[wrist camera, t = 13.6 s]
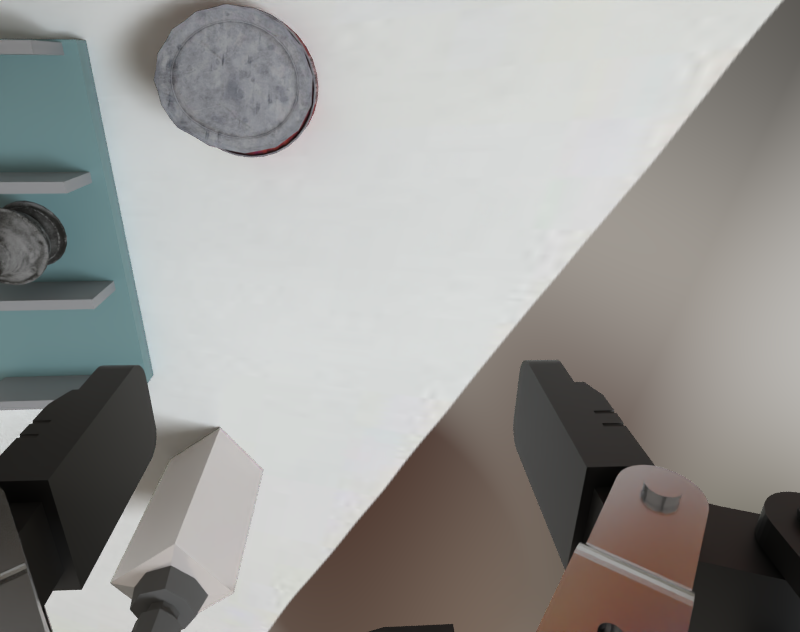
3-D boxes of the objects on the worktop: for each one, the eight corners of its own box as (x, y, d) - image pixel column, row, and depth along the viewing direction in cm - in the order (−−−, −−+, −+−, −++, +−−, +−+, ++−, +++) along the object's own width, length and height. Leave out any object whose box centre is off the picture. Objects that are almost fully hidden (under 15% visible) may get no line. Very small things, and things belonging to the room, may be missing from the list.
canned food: (198, 62, 45) (117, -12, 35) (315, 26, 44) (265, -63, 34) (226, 196, 44) (151, 159, 35) (345, 164, 43) (303, 115, 33)
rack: (-106, 38, 39) (-174, 34, 34) (85, 40, 40) (46, 36, 35) (6, 378, 50) (-34, 413, 45) (153, 374, 51) (130, 408, 46)
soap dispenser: (152, 470, 55) (34, 699, 35) (220, 427, 54) (136, 640, 34) (197, 510, 58) (110, 745, 38) (263, 469, 56) (209, 692, 36)
